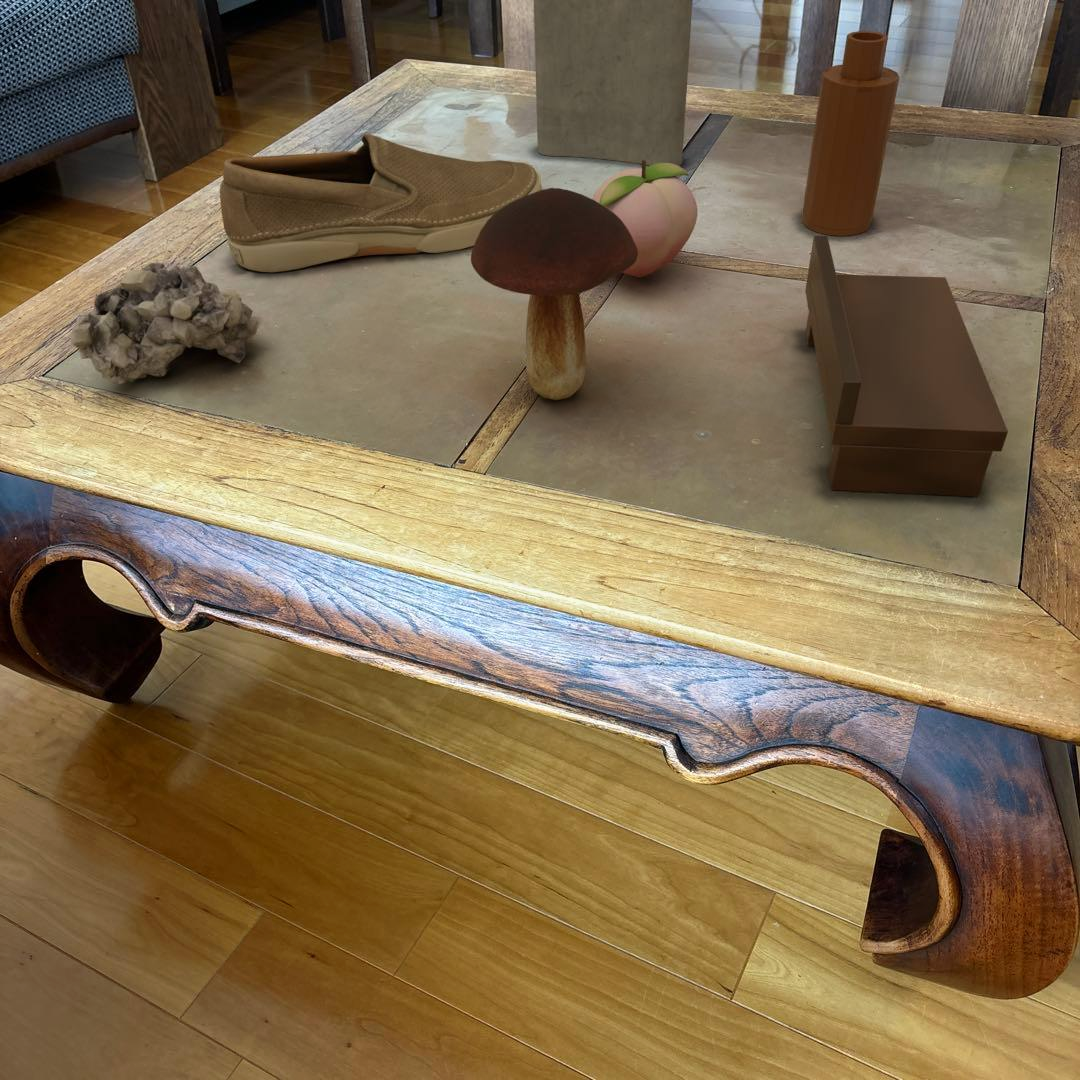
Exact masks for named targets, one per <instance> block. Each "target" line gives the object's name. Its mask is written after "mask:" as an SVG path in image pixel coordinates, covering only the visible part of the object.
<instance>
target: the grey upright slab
mask: <svg viewBox="0 0 1080 1080" xmlns="http://www.w3.org/2000/svg"><path fill="white" fill-rule="evenodd" d="M692 14H693V0H533V29H534V58H535V59H534V63H535V64H534V65H535V66H534V67H535V94H536V95H535V97H536V99H535V101H536V104H535V105H536V136H537V153H539V154H540V155H543V156H547V157H571V158H572V157H575V158H587V159H598V160H608V161H615V162H616V161H617V162H626V163H633V164H637V165H642V160H646V166H650V165H653V164H657V163H671V164H675V165H678V166H680V167H681V166H682V164H683V158H684V157H683V156H684V142H685V141H684V138H685V125H686V123H685V122H686V109H687V93H688V92H687V91H688V79H689V78H688V77H689V63H690V62H689V61H690V45H691V33H692V32H691V31H692V17H693V15H692Z"/></svg>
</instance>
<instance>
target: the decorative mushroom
mask: <svg viewBox="0 0 1080 1080" xmlns="http://www.w3.org/2000/svg"><path fill="white" fill-rule="evenodd" d="M637 257H638V250H637V246H636V244H635V242H634V240H633V238H632V236H631V234H630V232H629V231H628V229H627V227H626V226H625V224H624V223H623V222H622V220H621V219H620V218H619V217H618V216H617V215H615V214H614V213H613V212H612V211H610V210H609V209H607V208H606V207H604V206H603V205H601V204H599V203H598V202H596V201H595V200H593V199H592V197H588V196H586V195H584V194H582V193H580V192H576V191H572V190H568V189H564V188H559V187H557V188H556V187H549V188H545V189H544V188H542V190H540V191H538V192H535V193H532V194H530V195H527V196H524V197H522V198H520V199H517V200H515V201H513V202H511V203H509V204H508V205H506V206H505V207H503V208H501V209H500V210H498V211H497V212H496V213H495V214H494V215H493V216H492V217H491V218H490V219H489V220H488V221H487V222H486V224H485V225H484V226H483V228H482V229H481V231H480V233H479V235H478V237H477V239H476V242H475V244H474V246H472V251H471V254H470V264H471V266H472V268H473V269H474V271H475V272H476V274H477V275H478V276H479V277H480V278H481V279H482V280H484V281H485V282H487V283H489V284H490V285H492V286H494V287H497V288H500V289H502V290H504V291H509V292H512V293H517V294H522V295H529V300H528V306H527V316H526V327H525V329H526V330H525V331H526V332H525V333H526V334H525V367H526V368H525V369H526V375H527V379H528V383H529V386H530V387H531V388H532V390H533V391H534V392H535V393H536V394H537V395H539V396H541V397H542V398H544V399H548V400H553V401H560V400H565V399H568V398H569V397H571V396H573V395H574V394H575V393H576V392H577V391H578V390H580V389H581V388H582V385H583V383H584V381H585V374H586V370H587V369H586V367H587V354H586V353H587V352H586V351H587V349H586V348H587V347H586V345H587V344H586V335H585V320H584V314H583V308H582V304H581V297H580V294H583V293H585V292H588V291H591V290H592V289H594V288H596V287H598V286H601V285H602V284H603V283H606V282H607V281H609V280H610V279H612V278H614V277H615V276H617V275H619V274H621V273H622V272H623V271H625V270H627V269H629V268H630V267H631V266H632V265H633V264H634V263H635V262H636V260H637Z"/></svg>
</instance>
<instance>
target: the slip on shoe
mask: <svg viewBox="0 0 1080 1080" xmlns="http://www.w3.org/2000/svg"><path fill="white" fill-rule="evenodd" d="M361 142H362V145H361V146H360V147H358V148H357V150H355V151H354V150H346V151H333V152H318V153H317V152H316V153H300V154H299V153H298V154H283V155H282V154H281V155H279V154H278V155H263V156H248V157H247V156H246V157H235V158H234V157H233V158H229V159H226V160H225V161H224V163H223V169H222V178H223V179H222V181H221V183H220V185H219V200H220V211H221V219H222V224H223V229H224V232H225V234H226V236H227V243H228V247H229V250H230V253H231V255H232V257H233V259H235V261H236V263H237V264H238V265H239V266H240V267H242V268H244V269H248V270H251V271H255V272H261V273H279V272H288V271H293V270H299V269H303V268H307V267H311V266H315V265H320V264H324V263H328V262H333V261H337V260H342V259H349V258H356V257H357V258H358V257H363V256H376V255H396V254H397V255H403V254H419V253H422V252H424V253H429V254H437V253H438V254H439V253H446V252H453V251H459V250H463V249H466V248H470V247H474V244H475V242H476V239H477V237H478V235H479V233H480V231H481V229H482V228H483V226H484V225H485V224H486V222H487V221H488V220H489V219H490V218H491V217H492V216H493V215H494V214H495V213H496V212H497V211H498V210H500V209H501V208H503V207H505V206H506V205H508V204H509V203H511V202H513V201H515V200H517V199H520V198H522V197H524V196H527V195H530V194H532V193H535V192H538V191H540V190H543V187H542V179H541V176H540V173H539V172H538V171H537V170H536V169H535V168H534V166H533V165H531V164H529V163H527V162H518V161H517V162H516V161H510V160H503V159H502V160H501V159H499V160H498V159H497V160H485V161H473V160H466V159H461V158H456V157H451V156H445V155H440V154H434V153H430V152H425V151H421V150H418V149H415V148H411V147H408V146H405V145H402V144H399V143H396V142H393V141H390V140H387V139H386V138H383V137H381V136H377V135H373V134H371V133H364V134H363V135H362V136H361Z"/></svg>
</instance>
